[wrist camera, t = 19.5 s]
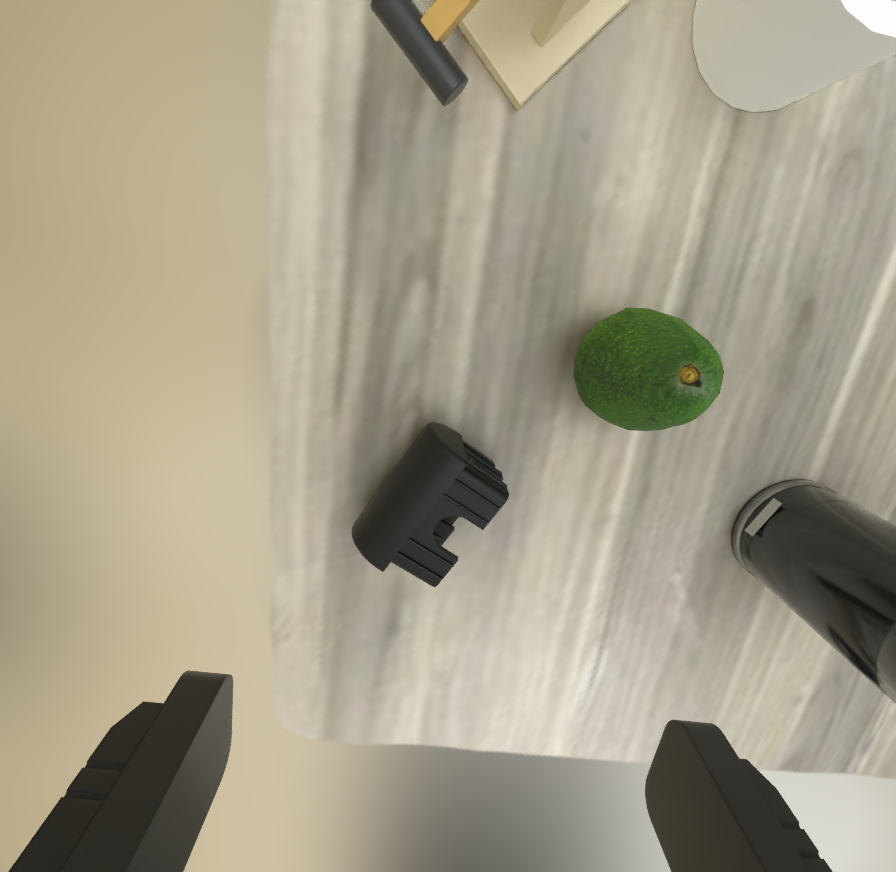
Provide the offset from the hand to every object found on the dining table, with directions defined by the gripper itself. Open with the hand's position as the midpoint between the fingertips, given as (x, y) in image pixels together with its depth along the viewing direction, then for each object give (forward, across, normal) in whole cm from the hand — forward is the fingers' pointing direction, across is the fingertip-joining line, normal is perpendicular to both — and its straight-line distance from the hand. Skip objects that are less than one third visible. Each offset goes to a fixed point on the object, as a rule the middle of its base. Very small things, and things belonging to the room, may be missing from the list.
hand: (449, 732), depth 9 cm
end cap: (+30, 0, +8) cm, 31 cm away
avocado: (+30, -13, -4) cm, 33 cm away
